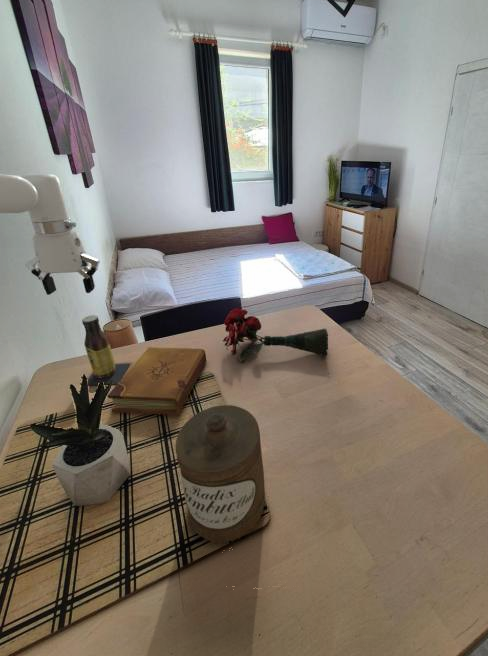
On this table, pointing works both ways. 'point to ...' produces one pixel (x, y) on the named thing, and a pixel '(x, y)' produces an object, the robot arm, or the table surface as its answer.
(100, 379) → the mat
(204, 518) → the wooden container
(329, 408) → the table surface
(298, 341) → the carnation
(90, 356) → the sauce bottle
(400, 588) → the table surface
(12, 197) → the robot arm
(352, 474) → the table surface
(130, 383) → the diary
